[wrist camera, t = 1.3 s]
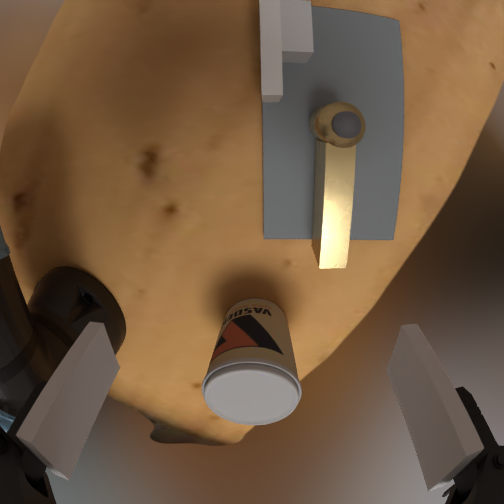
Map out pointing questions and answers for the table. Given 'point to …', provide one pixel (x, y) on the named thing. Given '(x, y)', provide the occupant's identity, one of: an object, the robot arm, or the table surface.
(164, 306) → the table surface
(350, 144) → the swing bar
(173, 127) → the table surface
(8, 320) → the robot arm
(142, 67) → the table surface
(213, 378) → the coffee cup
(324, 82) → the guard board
